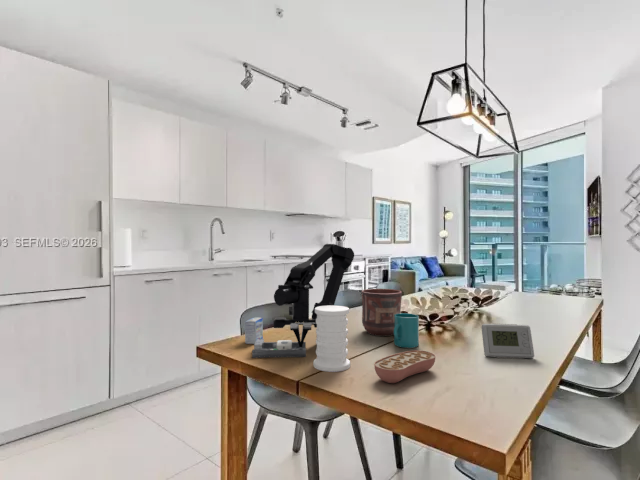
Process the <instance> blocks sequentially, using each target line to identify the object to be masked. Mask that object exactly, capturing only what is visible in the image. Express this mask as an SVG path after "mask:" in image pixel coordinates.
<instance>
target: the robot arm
mask: <svg viewBox="0 0 640 480" xmlns="http://www.w3.org/2000/svg"><path fill="white" fill-rule="evenodd" d="M322 246H323V247H322V248H320V249H319V250H318V251H317V252H316V253H314V254H313V255H312V256H311V257H310V258H309V259H307V260H306V261H304V262H301V263H298V264H296V265H294V266H293V267H291V268H290V271H289V274H288V276H287V278H286V280H285V281H284V283H283V284H278V286H277V289H276V290H275V291H274V294H273V301H274V303H275V304H276V305H277V306H281V307H282V306H288V305H292V306H289V307H288V316H289V317H292V319H287V318H286V316H276V317H274V319H273V328H274V329H283V328H285V326H290V328H289V330H290V331H292V332H293V333H294V335H295V337H296V342H298V344H299V347H302V345H303V342H305V339H306V337H307V334H308V333H309V331H311V330H312V326H313V327H314V328H316V329H317V324H316V319H317V314H316V313H315V307H319V306H328V305H334V306H335V303H336V300H337V296H338V293H339V291H340V289H341V284H342V280H343V278H344V274H345V272H346V270H347V269H348V268H349V267H350V266H352V263H353V261H354V259H355V258H354V257H355V251H354V250H353V248H351V247H344V246H341V245H338V244H335V243H326V244H324V245H322ZM330 258H331V264H332V268H331V271H330V275H329V277H328V280H327V284H326V286H325V290H324V292H323V296H322V298H321V300H320V302H315V303H314V305H313V309H312V311H311V313H312V314H311V318H310V290H311V289H314V286H313V285H312V284H311V281H313V279H314V278H315V276H316V272H317V270H319V268H320V267H321V266H323V265H324V264H325V263H326V262H327V261H328V260H329V259H330ZM300 326H302V329H301V335H300Z"/></svg>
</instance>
